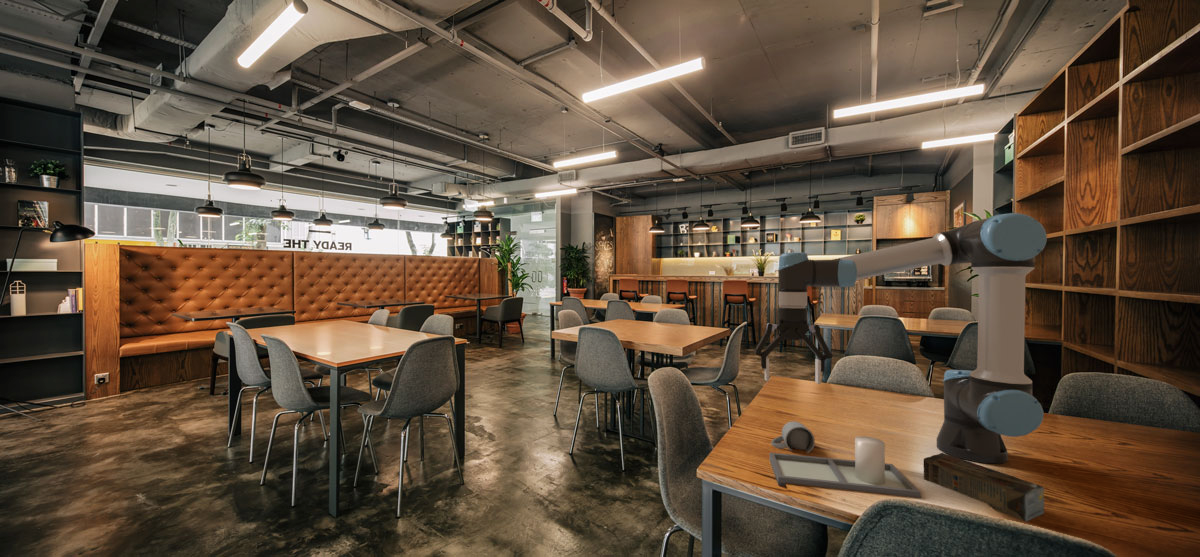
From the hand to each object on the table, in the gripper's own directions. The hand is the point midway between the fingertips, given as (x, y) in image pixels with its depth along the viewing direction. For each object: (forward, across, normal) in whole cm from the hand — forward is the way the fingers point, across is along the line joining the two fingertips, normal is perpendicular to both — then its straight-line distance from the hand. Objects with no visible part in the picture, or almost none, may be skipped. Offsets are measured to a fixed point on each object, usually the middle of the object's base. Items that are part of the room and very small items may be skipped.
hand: (792, 381), depth 122 cm
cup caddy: (+19, -7, +17) cm, 26 cm away
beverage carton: (+20, -35, +20) cm, 45 cm away
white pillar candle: (+18, -14, +17) cm, 29 cm away
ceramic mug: (+20, 0, 0) cm, 20 cm away
